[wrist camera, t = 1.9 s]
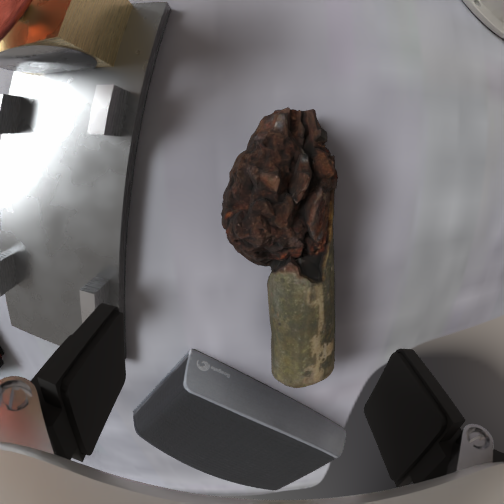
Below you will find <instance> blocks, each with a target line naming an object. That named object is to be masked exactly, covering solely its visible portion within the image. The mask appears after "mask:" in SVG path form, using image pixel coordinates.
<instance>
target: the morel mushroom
mask: <svg viewBox="0 0 504 504" xmlns="http://www.w3.org/2000/svg"><path fill="white" fill-rule="evenodd" d="M326 142H327V133H326V131H325V130H323V129H322V128H321V126H320V124H319V122H318V120H317V118H316V112H315V110H314V109H312V110H307V111H300V110H299V111H296V110H290V108H285V109H283V110H275V111H274V113H272V114H271V115H268V116H265V117H264V118H263V119H262V120H261V121H260V123H259V126H258V128H257V129H256V131H255V132H254V134H253V135H252V136H251V138H250V140H249V143H248V146H247V150H246V151H244V152H242V153H241V154H239V155H238V157H237V159H236V160H235V163H234V165H233V168H232V169H231V171H230V181H229V184H228V186H227V188H226V190H225V192H224V194H223V199H224V200H223V203H222V206H223V210H222V213H221V215H222V225H223V228H224V229H226V233H227V239H228V240H229V242H230V243H231V244H232V245H233V246H234V248H235V250H236V251H237V252H238V253H240V254H241V255H243V256H244V257H245V258H246V259H248V260H249V261H251V262H253V263H255V264H257V265H262V266H271V270H272V272H271V274H270V276H269V279H268V283H267V288H268V302H269V315H270V324H271V331H272V338H271V360H272V374H273V376H274V378H275V379H277V380H278V381H279V382H281V383H283V384H284V385H286V386H289V387H293V388H300V387H306V386H309V385H313V384H315V383H317V382H320V381H322V380H324V379H326V378H327V377H328V376H329V375H330V374H331V373H332V371H333V369H334V361H335V359H334V351H335V338H334V333H335V310H334V246H333V215H334V193H335V189H336V186H337V179H338V177H337V171H336V169H335V160H334V156H331V154H330V152H329V150H328V149H327V148H326V147H325V145H324V144H325V143H326Z"/></svg>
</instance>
